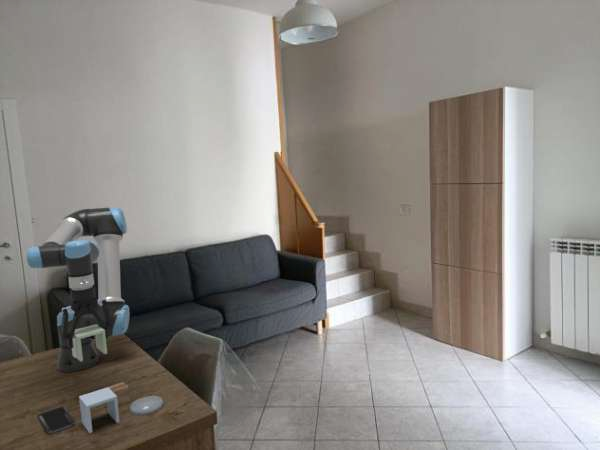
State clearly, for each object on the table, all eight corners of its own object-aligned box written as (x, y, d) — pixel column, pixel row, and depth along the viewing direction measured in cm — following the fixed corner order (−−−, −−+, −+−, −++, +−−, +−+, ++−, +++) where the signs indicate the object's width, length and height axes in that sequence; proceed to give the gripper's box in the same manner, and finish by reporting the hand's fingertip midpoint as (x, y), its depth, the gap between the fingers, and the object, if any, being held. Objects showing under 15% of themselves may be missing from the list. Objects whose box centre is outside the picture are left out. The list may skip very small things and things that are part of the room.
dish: (126, 406, 150) (125, 403, 150) (155, 396, 156) (155, 393, 156) (137, 418, 142) (136, 414, 142) (168, 406, 148) (167, 403, 148)
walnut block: (109, 401, 155) (108, 386, 154) (125, 395, 158) (123, 381, 158) (114, 406, 151) (113, 391, 151) (130, 400, 154) (128, 386, 154)
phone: (47, 433, 135) (37, 414, 147) (47, 436, 135) (37, 417, 147) (76, 422, 140) (64, 405, 152) (76, 426, 140) (64, 408, 152)
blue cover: (81, 422, 142) (78, 396, 141) (110, 412, 147) (108, 387, 146) (89, 433, 135) (86, 406, 134) (119, 422, 141) (116, 396, 140)
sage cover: (72, 354, 158) (69, 330, 157) (98, 346, 163) (96, 324, 162) (80, 361, 151) (77, 337, 150) (107, 353, 157) (104, 330, 156)
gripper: (49, 296, 144) (58, 365, 147) (118, 282, 158) (125, 345, 161) (43, 292, 150) (52, 358, 153) (110, 279, 164) (117, 340, 167)
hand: (89, 352), depth 157 cm, fingers closed on sage cover, 9 cm apart
